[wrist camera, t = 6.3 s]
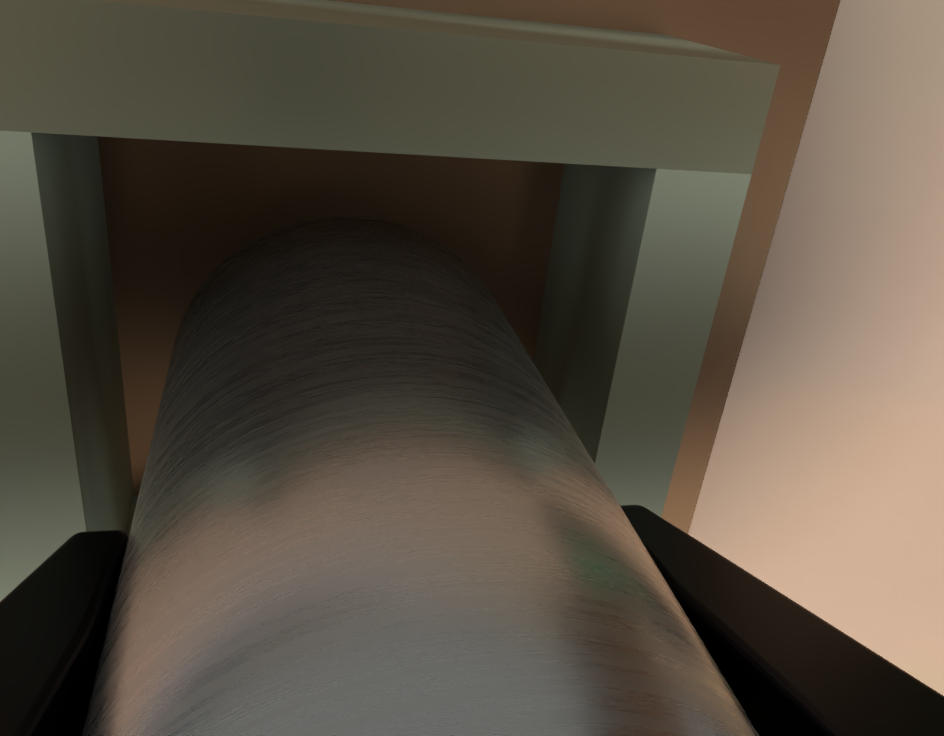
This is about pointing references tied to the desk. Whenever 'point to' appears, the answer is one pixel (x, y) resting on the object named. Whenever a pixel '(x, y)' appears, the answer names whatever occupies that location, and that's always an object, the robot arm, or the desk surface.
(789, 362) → the desk surface
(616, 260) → the dock board
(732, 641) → the robot arm
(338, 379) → the peg
